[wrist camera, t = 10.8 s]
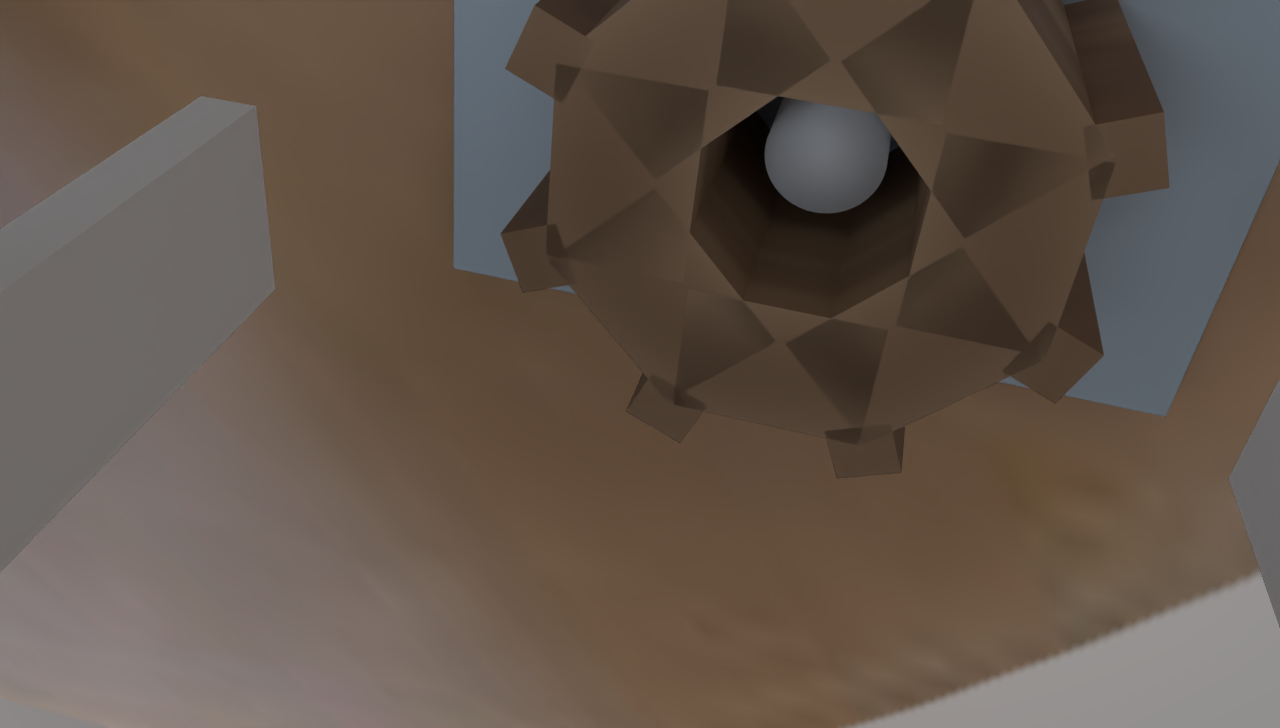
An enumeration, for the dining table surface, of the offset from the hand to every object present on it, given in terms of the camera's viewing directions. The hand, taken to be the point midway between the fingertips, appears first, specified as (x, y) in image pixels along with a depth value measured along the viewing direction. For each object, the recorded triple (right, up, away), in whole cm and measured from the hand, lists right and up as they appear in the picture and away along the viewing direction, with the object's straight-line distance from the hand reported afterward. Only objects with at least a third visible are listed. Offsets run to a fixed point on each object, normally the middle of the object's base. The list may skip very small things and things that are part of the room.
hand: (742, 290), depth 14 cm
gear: (+3, +5, +8) cm, 9 cm away
